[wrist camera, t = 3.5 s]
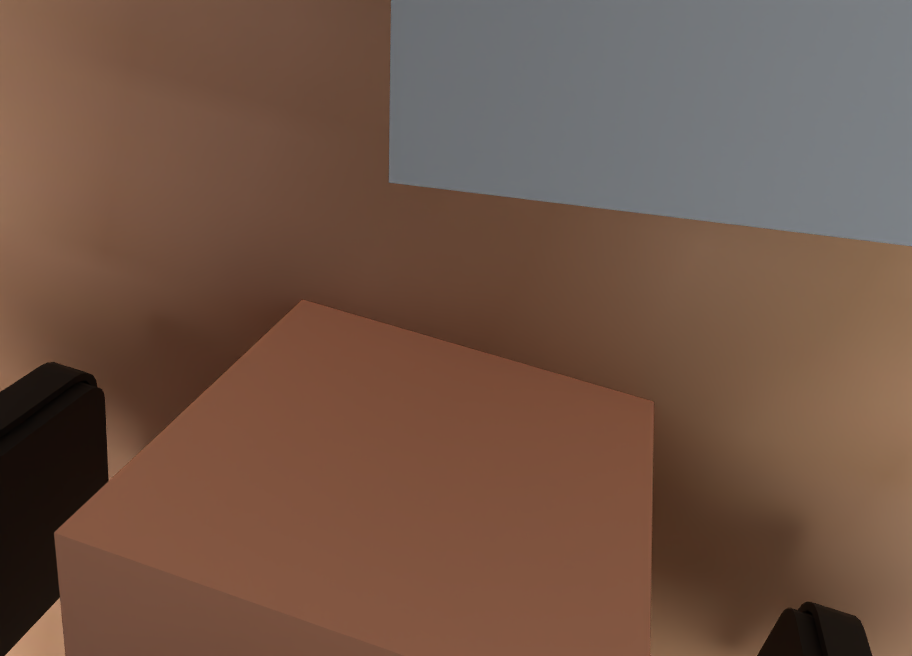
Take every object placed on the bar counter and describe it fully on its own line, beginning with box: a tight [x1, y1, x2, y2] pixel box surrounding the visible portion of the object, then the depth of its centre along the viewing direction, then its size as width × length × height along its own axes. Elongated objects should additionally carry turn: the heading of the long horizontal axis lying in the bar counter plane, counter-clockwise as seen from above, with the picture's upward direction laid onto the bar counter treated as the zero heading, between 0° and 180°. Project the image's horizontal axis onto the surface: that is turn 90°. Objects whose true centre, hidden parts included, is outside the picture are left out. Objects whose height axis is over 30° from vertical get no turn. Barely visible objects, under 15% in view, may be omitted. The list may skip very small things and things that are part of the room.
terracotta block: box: [54, 299, 654, 656], centre depth 9 cm, size 5×5×5 cm
